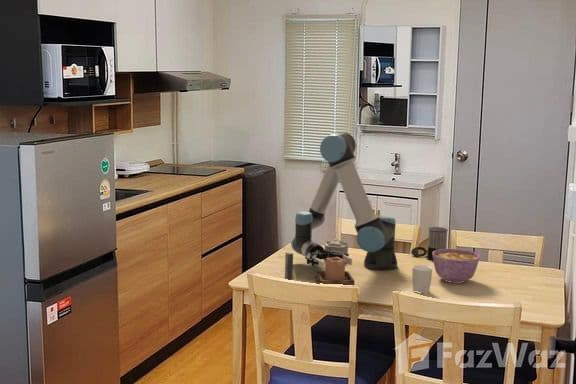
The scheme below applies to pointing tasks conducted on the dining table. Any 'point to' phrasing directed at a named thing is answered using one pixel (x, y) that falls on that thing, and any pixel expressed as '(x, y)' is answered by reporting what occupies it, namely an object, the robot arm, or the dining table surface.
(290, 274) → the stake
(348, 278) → the tray
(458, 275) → the bowl of food
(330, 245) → the lumpy-topped squat cylinder
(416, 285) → the white cup
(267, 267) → the dining table surface
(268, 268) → the dining table surface
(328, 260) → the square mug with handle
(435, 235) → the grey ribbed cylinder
